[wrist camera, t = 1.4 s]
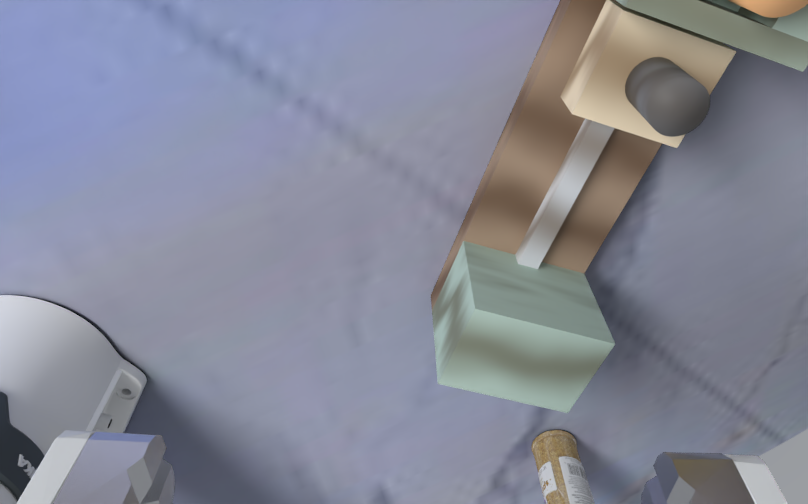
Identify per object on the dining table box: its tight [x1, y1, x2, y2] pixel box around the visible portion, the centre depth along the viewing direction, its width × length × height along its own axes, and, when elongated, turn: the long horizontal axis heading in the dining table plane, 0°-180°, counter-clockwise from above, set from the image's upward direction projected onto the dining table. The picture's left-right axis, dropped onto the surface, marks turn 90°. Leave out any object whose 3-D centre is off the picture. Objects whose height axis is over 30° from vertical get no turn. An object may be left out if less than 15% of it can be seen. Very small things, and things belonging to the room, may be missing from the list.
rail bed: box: [431, 0, 808, 413], centre depth 38 cm, size 33×10×10 cm, turn 162°
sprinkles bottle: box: [532, 430, 595, 504], centre depth 55 cm, size 5×5×13 cm
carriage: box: [560, 0, 736, 148], centre depth 34 cm, size 6×7×8 cm
